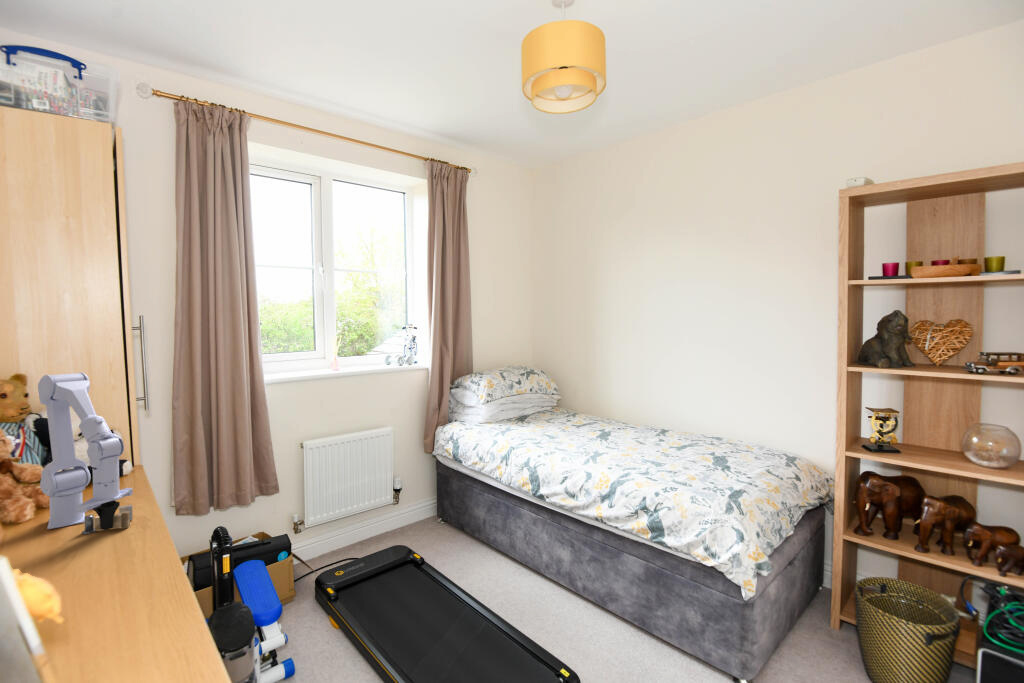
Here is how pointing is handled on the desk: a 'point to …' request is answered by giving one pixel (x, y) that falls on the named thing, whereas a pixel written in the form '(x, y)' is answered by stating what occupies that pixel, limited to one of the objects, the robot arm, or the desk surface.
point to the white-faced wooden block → (126, 508)
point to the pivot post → (89, 524)
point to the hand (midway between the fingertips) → (106, 528)
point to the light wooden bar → (116, 521)
